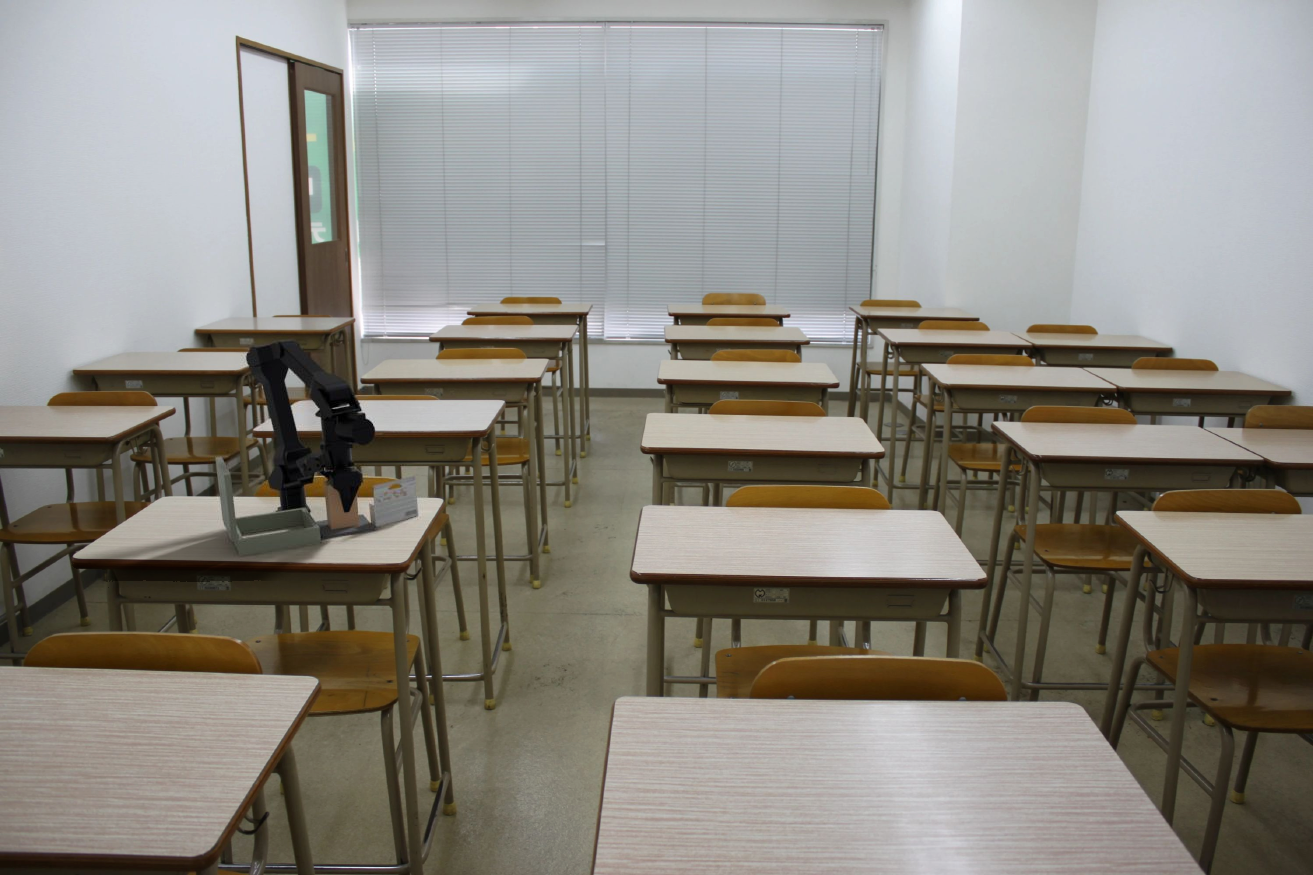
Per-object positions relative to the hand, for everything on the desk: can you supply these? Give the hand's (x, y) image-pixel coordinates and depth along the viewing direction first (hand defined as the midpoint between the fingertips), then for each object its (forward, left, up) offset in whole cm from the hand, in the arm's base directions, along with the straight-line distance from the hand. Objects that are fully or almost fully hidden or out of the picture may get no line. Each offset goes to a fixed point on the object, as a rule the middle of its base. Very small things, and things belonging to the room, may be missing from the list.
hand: (342, 506), depth 213 cm
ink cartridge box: (+1, +11, -5) cm, 12 cm away
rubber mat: (0, 0, -5) cm, 5 cm away
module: (0, 0, -4) cm, 4 cm away
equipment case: (0, -14, -5) cm, 15 cm away
